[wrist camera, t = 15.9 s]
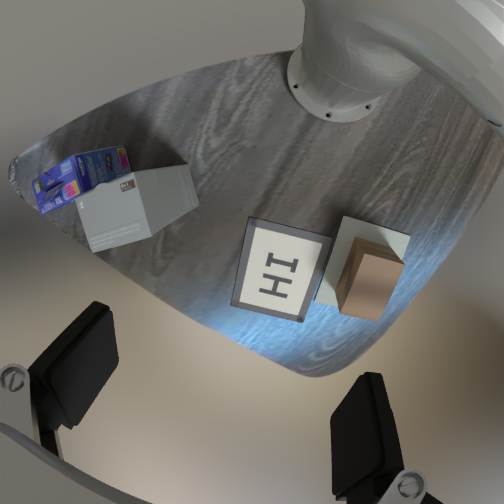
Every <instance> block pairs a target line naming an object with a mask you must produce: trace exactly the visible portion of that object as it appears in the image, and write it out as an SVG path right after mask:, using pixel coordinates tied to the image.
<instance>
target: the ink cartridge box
mask: <svg viewBox="0 0 504 504" xmlns="http://www.w3.org/2000/svg"><path fill="white" fill-rule="evenodd" d="M129 173H131V169H130V165H129V161H128V157H127V153H126V149H125V146H124V145H121V146H114V147H109V148H104V149H99V150H94V151H89V152H84V153H79V154H75V155H72V156H70V157H68V158H66V159H65V160H63V161H62V162H60V163H58V164H56V166H55V167H53V168H51V169H50V170H48V171H47V172H44V173H43V174H42V175H41V176H39V177H38V178H36V179H35V180H34V181H32V185H33V189H34V192H35V196H36V199H37V203H38V207H39V209H40V212H41V214H42V215H43V214H45V213H48V212H50V211H52V210H55V209H57V208H59V207H61V206H64V205H66V204H68V203H71V202H73V201H75V198H76V197H77V196H79V195H81V194H83V193H85V192H87V191H89V190H92V189H94V188H95V187H96V186H97V185H99V184H101V183H108V182H110V181H112V180H115V179H117V178H119V177H122V176H124V175H127V174H129Z"/></svg>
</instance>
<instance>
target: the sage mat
mask: <svg viewBox="0 0 504 504" xmlns="http://www.w3.org/2000/svg"><path fill="white" fill-rule="evenodd" d="M355 237H357V238H361V239H364V240H368V241H371V242H375V243H378V244H381V245H385V246H388V247H391V248H392V249H393V250H394V252H395V253H396V254H397V255H398V257H399V258H400V259H401V260H402V258H403V255H404V253H405V250H406V248H407V245H408V242H409V240H410V237H411V236H409V235H406V234H403V233H400V232H397V231H394V230H390V229H387V228H384V227H381V226H378V225H374V224H371V223H368V222H364V221H361V220H358V219H354V218H351V217H347V216H344V215H343V219H342V222H341V225H340V228H339V231H338V234H337V238H336V241H335V244H334V247H333V250H332V253H331V256H330V259H329V262H328V264H327V267H326V270H325V273H324V276H323V279H322V281H321V284H320V287H319V290H318V292H317V295H316V298H315V300H314V302H319V303H323V304H328V305H332V306H337V307H338V303H337V299H336V295H335V289H336V287H337V284H338V281H339V279H340V276H341V274H342V271H343V268H344V266H345V263H346V260H347V257H348V255H349V252H350V249H351V246H352V243H353V241H354V238H355Z"/></svg>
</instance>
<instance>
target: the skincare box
mask: <svg viewBox="0 0 504 504" xmlns="http://www.w3.org/2000/svg"><path fill="white" fill-rule="evenodd" d="M75 202H76V205H77V208H78V211H79V214H80V218H81V221H82V224H83V227H84V231H85V234H86V237H87V240H88V243H89V245H90V248H91V250H92V252H97V251H101V250H105V249H109V248H112V247H116V246H120V245H124V244H127V243H131V242H134V241H138V240H142V239H145V238H148V237H151V236H152V235H153V234H155V233H156V232H158V231H159V230H161V229H162V228H164V227H165V226H167V225H168V224H170V223H171V222H173V221H175V220H176V219H178V218H179V217H181V216H183V215H184V214H186V213H187V212H189V211H191V210H192V209H194V208H196V207H197V206H199V201H198V198H197V194H196V191H195V188H194V184H193V180H192V177H191V173H190V170H189V166H188V164H184V165H177V166H169V167H162V168H154V169H148V170H141V171H135V172H131V173H129V174H127V175H124V176H122V177H119V178H117V179H115V180H112V181H110V182H108V183H101V184H99V185H97V186H96V187H95V188H94V189H92V190H89V191H87V192H85V193H83V194H81V195H79V196H77V197H76V198H75Z"/></svg>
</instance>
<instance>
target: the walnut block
mask: <svg viewBox="0 0 504 504" xmlns="http://www.w3.org/2000/svg"><path fill="white" fill-rule="evenodd" d="M404 266H405V264H404V263H403V262H402V260H401V259H400V258H399V257H398V255H397V254H396V253H395V252H394V250H393V249H392V248H391V247H388V246H385V245H381V244H378V243H375V242H371V241H368V240H364V239H361V238H357V237H355V238H354V241H353V243H352V246H351V249H350V252H349V255H348V257H347V260H346V263H345V266H344V268H343V271H342V274H341V276H340V279H339V281H338V284H337V287H336V289H335V295H336V299H337V303H338V308H339V312H340V314H344V315H348V316H353V317H358V318H363V319H368V320H373V321H379V319H380V317H381V315H382V313H383V311H384V309H385V307H386V305H387V303H388V301H389V299H390V297H391V295H392V293H393V291H394V289H395V286H396V284H397V282H398V280H399V278H400V275H401V273H402V271H403V268H404Z"/></svg>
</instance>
